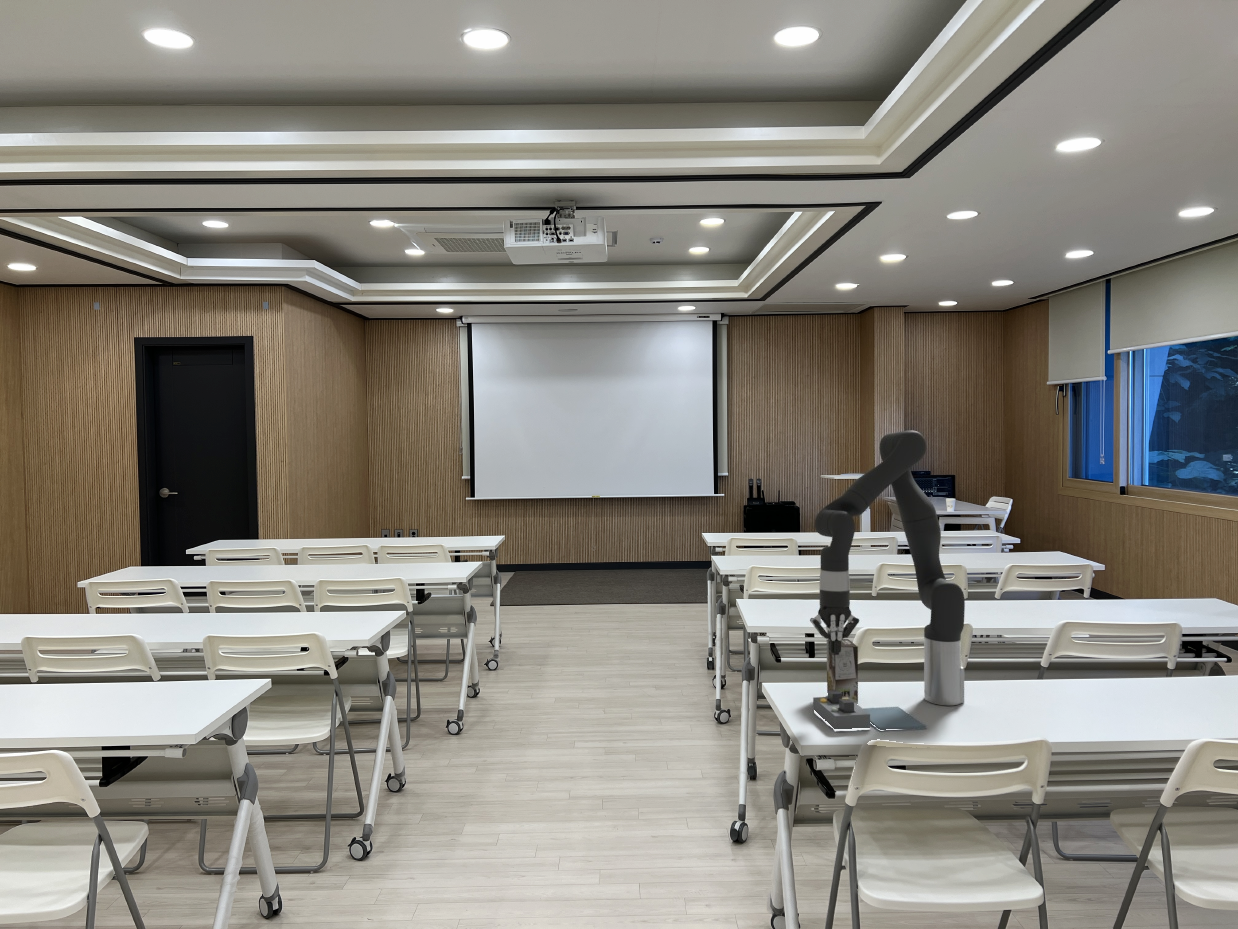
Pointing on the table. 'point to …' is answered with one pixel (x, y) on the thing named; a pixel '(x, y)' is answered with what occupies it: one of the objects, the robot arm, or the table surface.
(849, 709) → the block
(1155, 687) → the table surface
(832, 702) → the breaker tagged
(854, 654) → the coffee box
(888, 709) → the mat
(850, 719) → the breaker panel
